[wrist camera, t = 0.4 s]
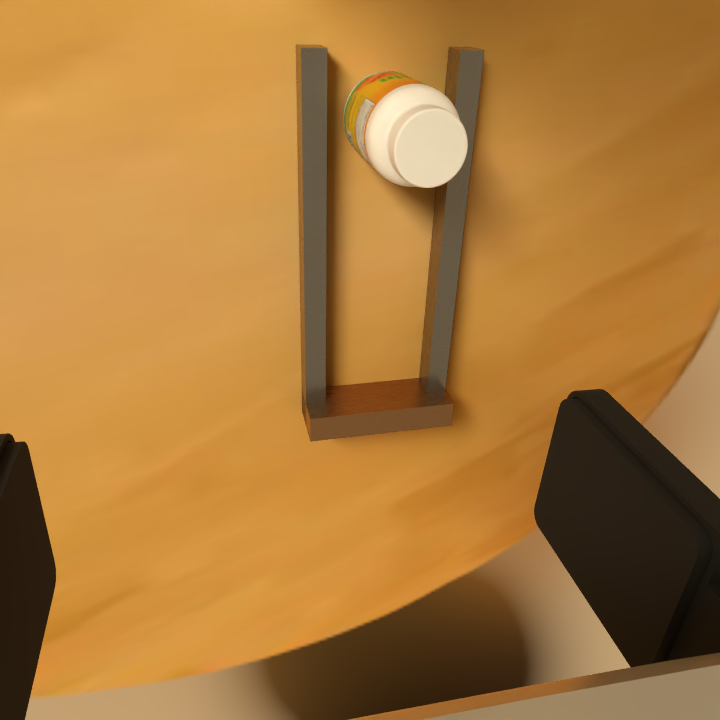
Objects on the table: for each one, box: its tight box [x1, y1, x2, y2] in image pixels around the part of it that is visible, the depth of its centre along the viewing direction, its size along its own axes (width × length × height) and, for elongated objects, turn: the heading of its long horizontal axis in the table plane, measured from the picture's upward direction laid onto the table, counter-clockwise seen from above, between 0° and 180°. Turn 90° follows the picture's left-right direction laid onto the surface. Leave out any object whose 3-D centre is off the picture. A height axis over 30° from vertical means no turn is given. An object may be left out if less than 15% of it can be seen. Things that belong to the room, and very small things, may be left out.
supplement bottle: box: [343, 71, 468, 188], centre depth 37 cm, size 5×5×10 cm
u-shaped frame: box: [296, 45, 484, 441], centre depth 44 cm, size 26×11×4 cm, turn 178°
